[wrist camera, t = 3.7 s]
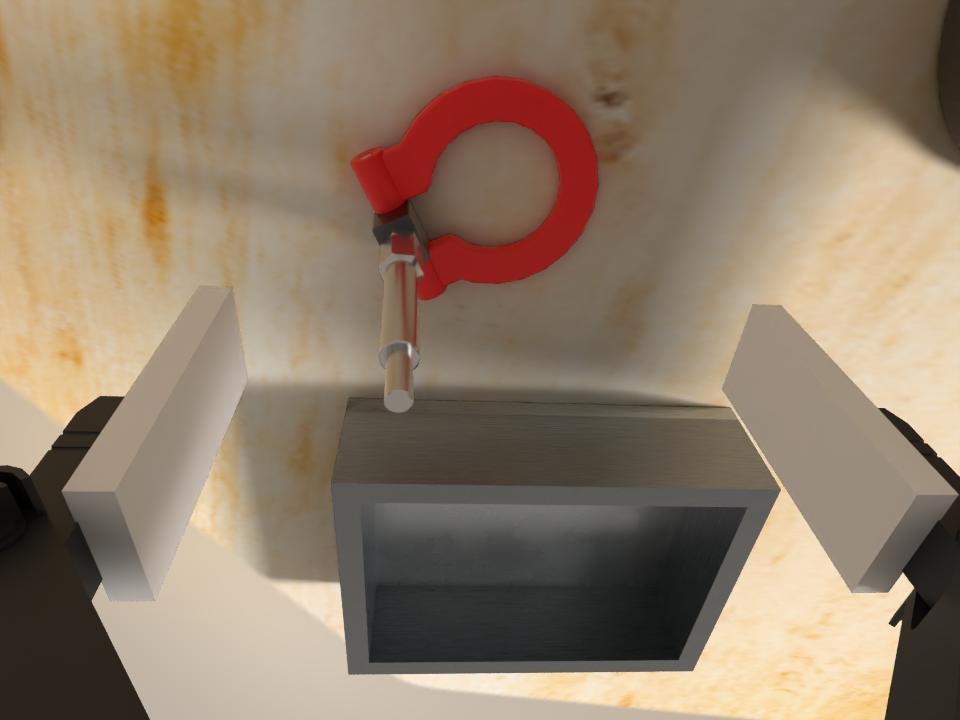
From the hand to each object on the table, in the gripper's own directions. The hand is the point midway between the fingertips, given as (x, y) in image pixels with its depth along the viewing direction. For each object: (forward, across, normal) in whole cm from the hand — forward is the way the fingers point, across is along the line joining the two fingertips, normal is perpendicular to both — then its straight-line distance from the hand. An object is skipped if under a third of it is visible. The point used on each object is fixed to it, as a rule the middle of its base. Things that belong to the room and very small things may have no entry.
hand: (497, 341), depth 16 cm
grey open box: (+12, +4, -19) cm, 23 cm away
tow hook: (+12, 0, 0) cm, 12 cm away
